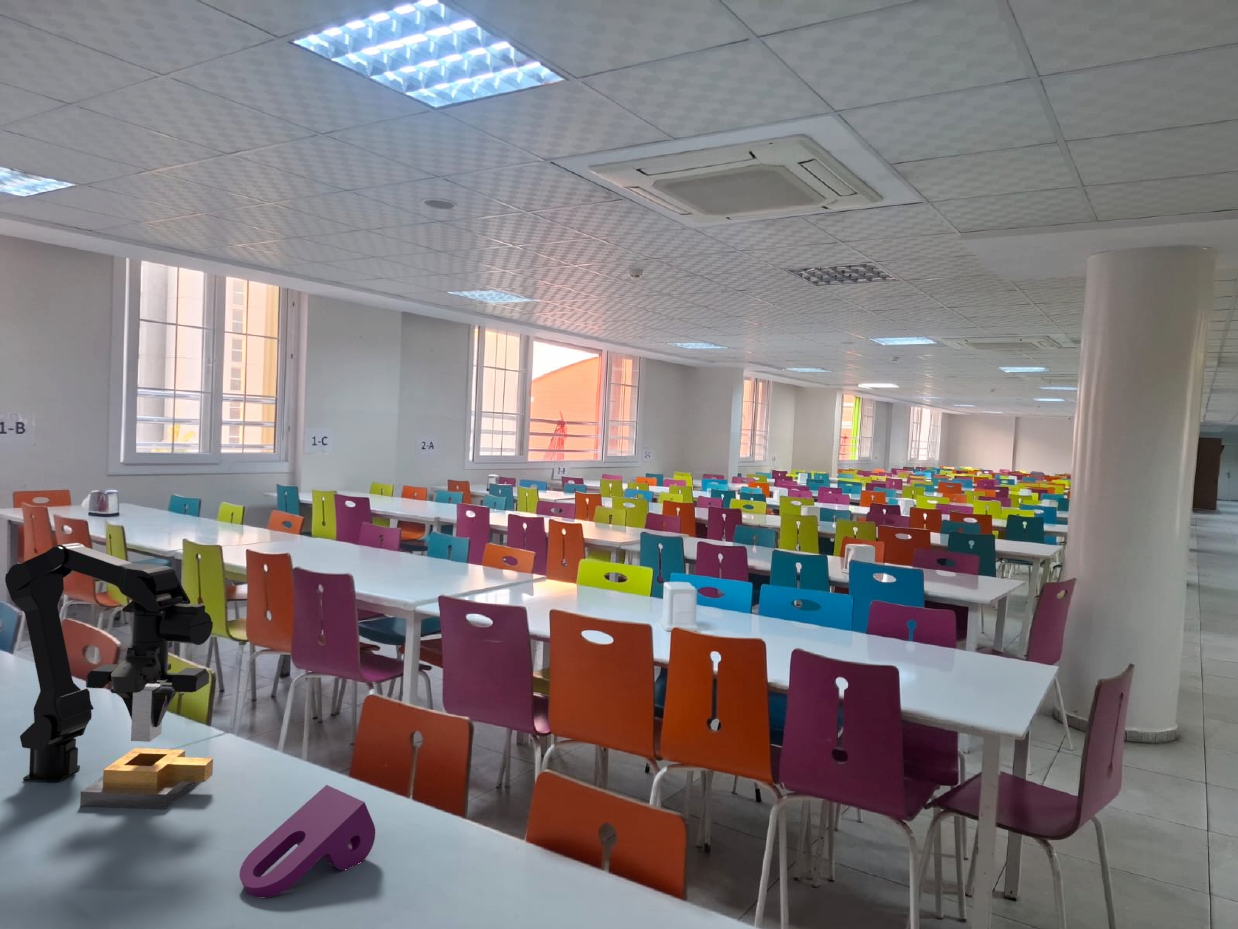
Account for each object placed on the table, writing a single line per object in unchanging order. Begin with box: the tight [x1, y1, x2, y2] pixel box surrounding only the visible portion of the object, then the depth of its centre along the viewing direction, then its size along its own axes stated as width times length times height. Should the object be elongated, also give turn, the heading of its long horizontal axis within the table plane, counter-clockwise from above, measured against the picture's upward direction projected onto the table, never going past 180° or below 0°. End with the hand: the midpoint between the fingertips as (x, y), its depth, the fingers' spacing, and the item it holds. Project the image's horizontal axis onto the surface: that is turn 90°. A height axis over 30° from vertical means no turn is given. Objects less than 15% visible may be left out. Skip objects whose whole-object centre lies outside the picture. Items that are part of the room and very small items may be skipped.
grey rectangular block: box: [130, 683, 163, 743], centre depth 146 cm, size 3×4×9 cm
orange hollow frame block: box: [79, 747, 214, 810], centre depth 146 cm, size 18×14×6 cm
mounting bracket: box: [239, 784, 376, 898], centre depth 123 cm, size 9×8×18 cm
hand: (146, 726), depth 146 cm, fingers closed on grey rectangular block, 3 cm apart
